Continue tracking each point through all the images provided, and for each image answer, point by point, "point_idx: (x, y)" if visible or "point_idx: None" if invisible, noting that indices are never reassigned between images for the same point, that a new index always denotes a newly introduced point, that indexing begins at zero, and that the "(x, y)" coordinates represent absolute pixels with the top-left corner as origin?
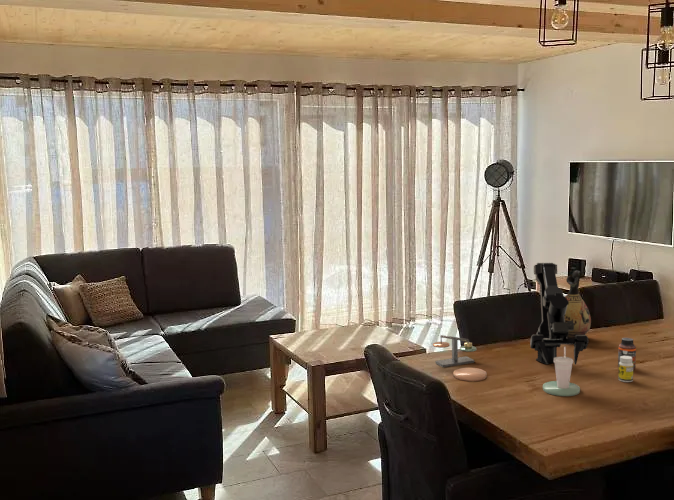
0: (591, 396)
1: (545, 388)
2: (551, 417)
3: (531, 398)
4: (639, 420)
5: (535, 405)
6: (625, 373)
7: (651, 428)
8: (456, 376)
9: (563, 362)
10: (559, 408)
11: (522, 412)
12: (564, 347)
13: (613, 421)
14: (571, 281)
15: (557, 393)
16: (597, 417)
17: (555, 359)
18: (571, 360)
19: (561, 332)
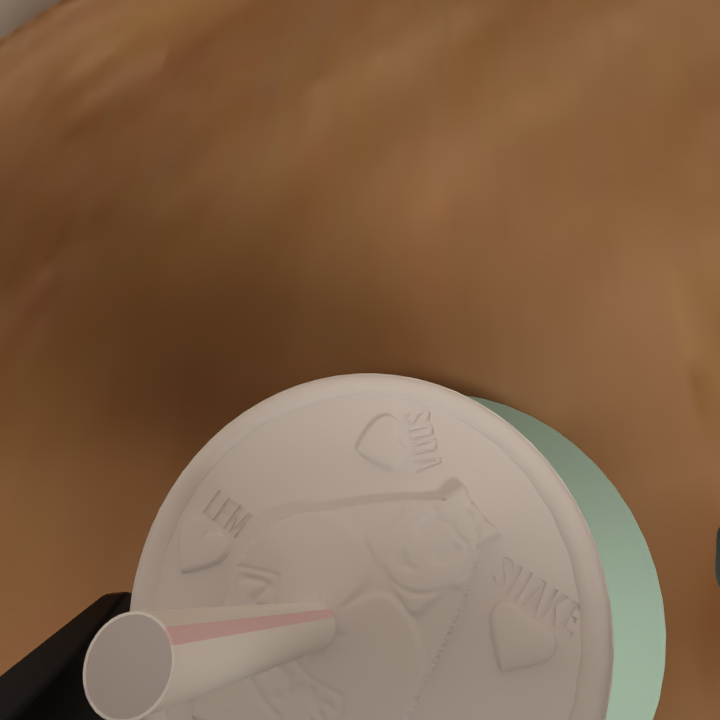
0: (174, 457)
1: (612, 490)
2: (500, 7)
3: (710, 286)
4: (16, 114)
5: (640, 150)
6: None
7: (4, 46)
8: None
9: (366, 383)
10: (451, 147)
11: (709, 15)
12: (179, 623)
13: (154, 64)
14: None
15: (473, 399)
16: (226, 86)
17: (557, 562)
18: (178, 538)
19: None
